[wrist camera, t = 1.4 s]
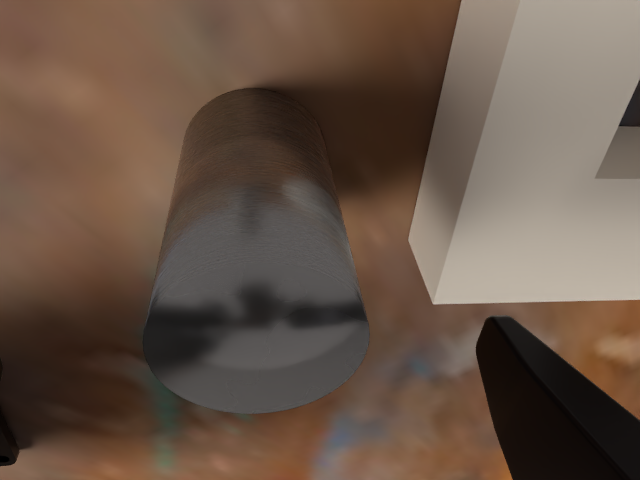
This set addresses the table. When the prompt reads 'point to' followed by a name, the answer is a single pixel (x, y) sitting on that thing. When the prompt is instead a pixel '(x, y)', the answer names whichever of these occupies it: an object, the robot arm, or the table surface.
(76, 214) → the table surface
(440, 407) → the table surface
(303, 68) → the table surface
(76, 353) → the table surface
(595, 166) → the block
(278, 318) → the grey metal cylinder
